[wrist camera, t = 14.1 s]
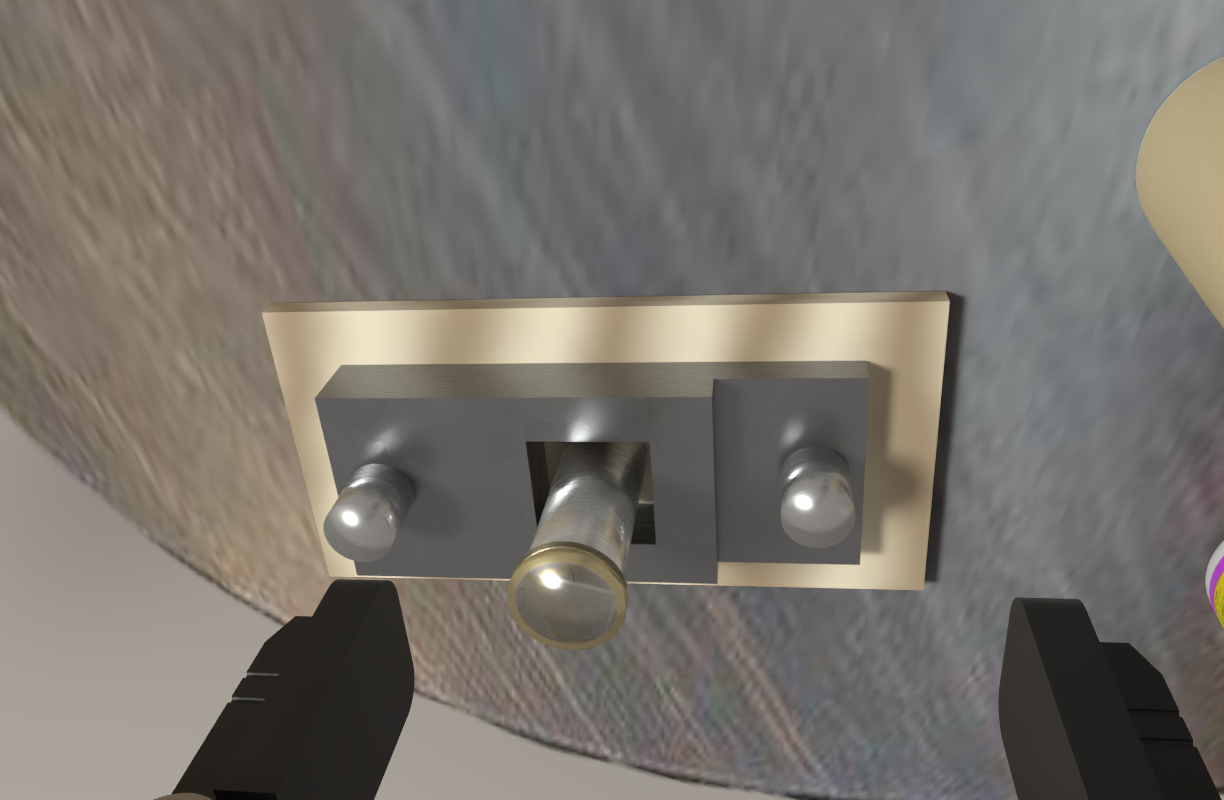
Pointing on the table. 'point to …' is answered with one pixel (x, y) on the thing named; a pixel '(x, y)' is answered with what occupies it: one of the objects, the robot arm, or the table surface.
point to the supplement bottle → (1216, 582)
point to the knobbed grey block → (596, 412)
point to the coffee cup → (1189, 180)
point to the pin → (581, 548)
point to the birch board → (660, 332)
